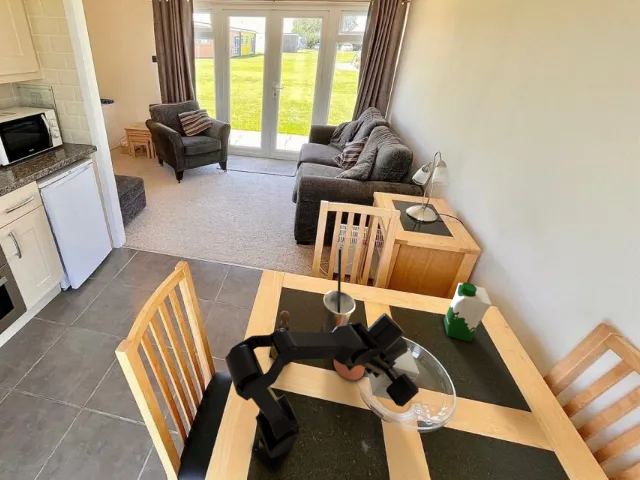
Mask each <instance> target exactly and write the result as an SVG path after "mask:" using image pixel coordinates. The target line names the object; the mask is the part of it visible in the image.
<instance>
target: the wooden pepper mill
mask: <svg viewBox="0 0 640 480" xmlns="http://www.w3.org/2000/svg"><path fill="white" fill-rule="evenodd" d="M279 319H280V321H281V322H280V324H279V325H278V326H277V327H276V330H279V329H286V330H287V331H291V328H290V326H289V323H288V322H289V321H290V319H291V314H290V312H289V311H287V310H282V311H281V312H280V313H279ZM270 354H271V357H272V359H273V361H275V359H276V357H277V356H278V355H277V353H276V351H275V349H274V347H270Z"/></svg>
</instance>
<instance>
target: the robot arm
mask: <svg viewBox="0 0 640 480" xmlns="http://www.w3.org/2000/svg"><path fill="white" fill-rule="evenodd" d="M404 334H406V332H405V331H404V330H403V328H401V327H400V325H399V324H398V323H397V322H396V321H395V320H393V318H392V317H391V316H390V315H389V314H387V313H386V312H383V313H382V314H381V315H380V316H379V317H378V318H377V319H376V320H374V322H373V323H372V324H371V325H369V326H366V325H364V324H363V323H362V321H358V322H353V321H352V322H350V323H348V324H347V325H344V326H337V327H335V329H334V330H333V331H332V332H323V331H292V330H290V331H287V330H286V329H279V330H277V329H276V330H275V331H273V332H271V333H269V334H258V335H256V334H255V335H251V336H249V337H247V338H245V339H244V340H242V341H240V342H239V343H236V345H234V346H232V347H231V348H230V349H229V352H228V354H227V355H226V356H225V357H224V359H225V363H226V366H227V369H228V372H229V375H230V378H231V381H232V384H233V387H234V391H235V393H236V395H237V396H238V397H240V398H242V399H243V400H245V401H249V400H250V399H251V400H252V401H253V403H254V404H255V405H256V406H257V408H258V409H259V410H260V412H259V413H258V414H257V415H256V416H255V420H256V423H257V427H258V428H259V432H260V438H259V439H258V441H257V442H256V444H255V445H254V446H253V451H254V452H255V453H256V454H257V455H258V457H259V458H260V459H261V460H262V461H263V462H264V463H265V464H266V465H267V466H268V467H269V469H271V470H272V471H275V470H276V469H277V467H278V466H279V464H280V463H281V461H282V460H283V459H284V457H285V455H286V454H287V453H288V452H289V451H290V450H291V449H292V447H293V445H294V444H295V443H296V441H297V439H298V436H297V435H299V434H300V429H301V428H302V425H301V423H300V422H299V419H298V416H297V415H296V413H295V409H294V408H293V405H292V403H291V402H290V400H289V398H287V395H286V394H285V393H284V394H283V395H281V396H277V395H276V394H275V392H274V391H273V389H272V388H271V386H273V385H274V384H275V383H276V381H277V380H278V378H279V377H280V374H281V373H282V371H283V369H284V368H285V366H288V365H289V364H291V363H292V362H293V361H300V360H302V361H303V360H328V359H330V360H333V361H334V360H336V361H337V362H339V363H340V364H342V365H346V367H347V368H348V370H349V371H351V370H352V369H353V368H354V367H355V366H359V365H360V366H362V367H364V371H366V373H367V375H368V374H371V373H373V375H374V376H375V377H376V378H378V377H379V376H380V375H383V374H385V373H386V375H387V376H388V377H389V379H390V380H391V381H392V382H393V383H392V384H390V385H389V386H388V387H387V389H386V392H387V393H388V395H389V396H390V397H391V399H392V400H391V401H392V402H393V403H394V405H396V406H397V407H400V408H404V407H405V406H406V404H408V403H409V402H410V401H411V400H412V399H413V398H414V397H415V396H416V395H417V394H418V393H419V392H420V390H419V387H418V386H417V384H416V383H415V381H414V382H413V381H412V380H411V379H410V377H409V376H408V375H407V374H405V373H404V374H402V375H399V374H398V373H397V371H396V370H395V369H394V368H393V366H394V365H395V364H396V362H395V360H396V359H397V358H399V357H400V356H401V355H403V354H405V353H406V352H407V351H408V349H407V348H408V345H407V341H406V340H405V339H404V338H403V335H404ZM271 347H274V349H275V351H276V353H277V355H278V356H277V357H276V359H275V360H273V363H272V364H271V366H270V367H269V369H268V371H266V372H265V373H264V370H263V368H262V365H261V364H260V361H259V358H258V357H257V354H256V352H255V350H256V349H258V348H271ZM389 369H390V370H391V372H392V373H393V374H395V375H393V374H392V373H391V372H390V370H389ZM394 376H396V378H397V379H396V378H395V377H394Z"/></svg>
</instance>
